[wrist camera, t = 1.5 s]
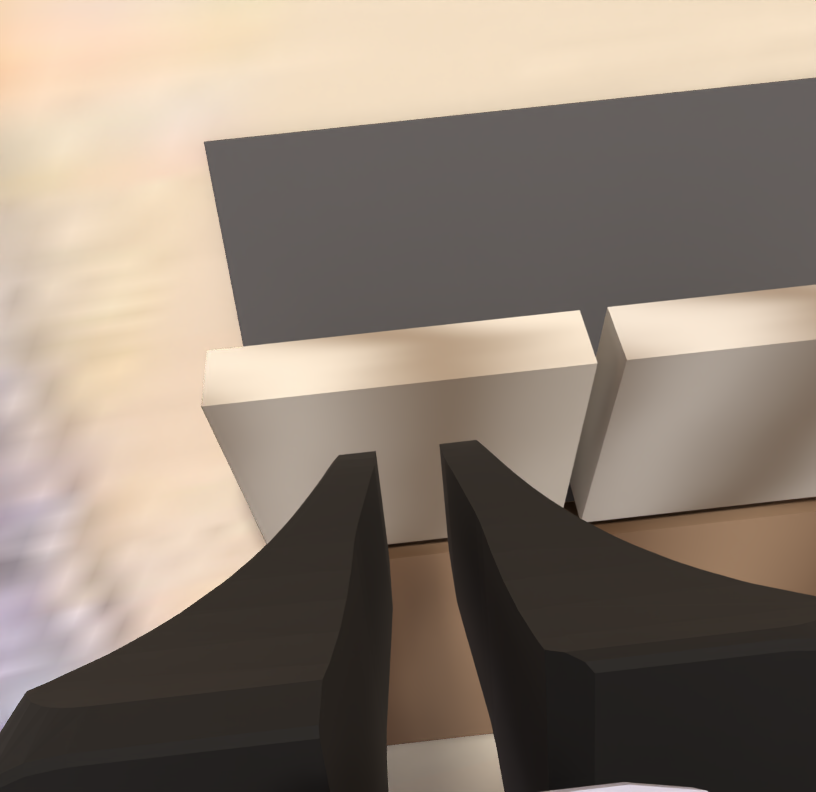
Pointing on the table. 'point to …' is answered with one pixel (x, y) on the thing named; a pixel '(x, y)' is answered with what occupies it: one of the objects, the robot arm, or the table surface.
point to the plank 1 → (401, 411)
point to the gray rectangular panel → (519, 212)
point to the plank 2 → (700, 406)
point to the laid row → (661, 533)
